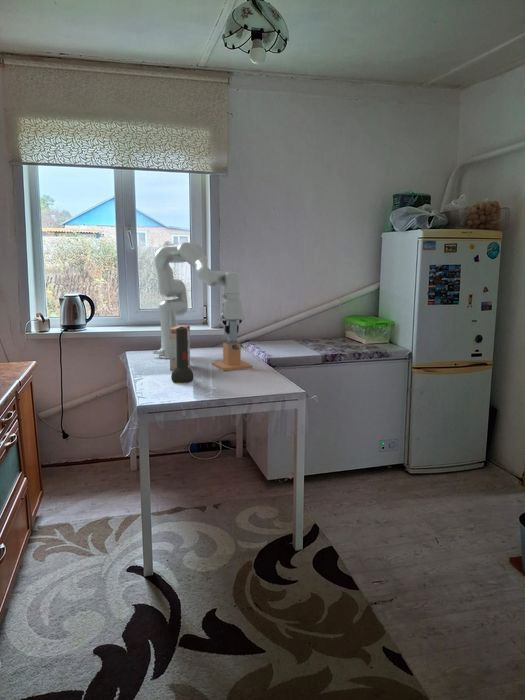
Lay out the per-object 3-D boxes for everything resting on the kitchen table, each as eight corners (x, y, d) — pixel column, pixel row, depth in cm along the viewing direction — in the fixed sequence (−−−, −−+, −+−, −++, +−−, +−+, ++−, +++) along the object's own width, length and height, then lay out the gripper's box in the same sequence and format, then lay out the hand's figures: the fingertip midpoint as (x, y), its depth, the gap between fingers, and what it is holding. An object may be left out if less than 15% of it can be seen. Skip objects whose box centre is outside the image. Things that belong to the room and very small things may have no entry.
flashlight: (167, 380, 229) (176, 384, 221) (166, 325, 224) (175, 328, 216) (187, 377, 234) (197, 381, 226) (187, 324, 230) (196, 326, 222)
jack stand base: (223, 371, 248) (223, 347, 246) (211, 364, 262) (211, 341, 260) (252, 368, 255) (252, 344, 253) (239, 362, 269) (239, 340, 267)
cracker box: (181, 371, 246) (180, 328, 242) (169, 370, 248) (168, 328, 244) (190, 365, 260) (190, 325, 256) (179, 364, 261) (179, 324, 257)
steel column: (229, 357, 254) (229, 319, 251) (225, 356, 258) (225, 318, 255) (238, 357, 256) (238, 319, 253) (234, 355, 261) (234, 317, 257)
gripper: (219, 298, 245) (219, 335, 248) (250, 297, 252) (249, 333, 255) (213, 296, 251) (213, 333, 255) (244, 296, 259) (243, 331, 262)
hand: (231, 332), depth 255 cm, fingers closed on steel column, 4 cm apart
